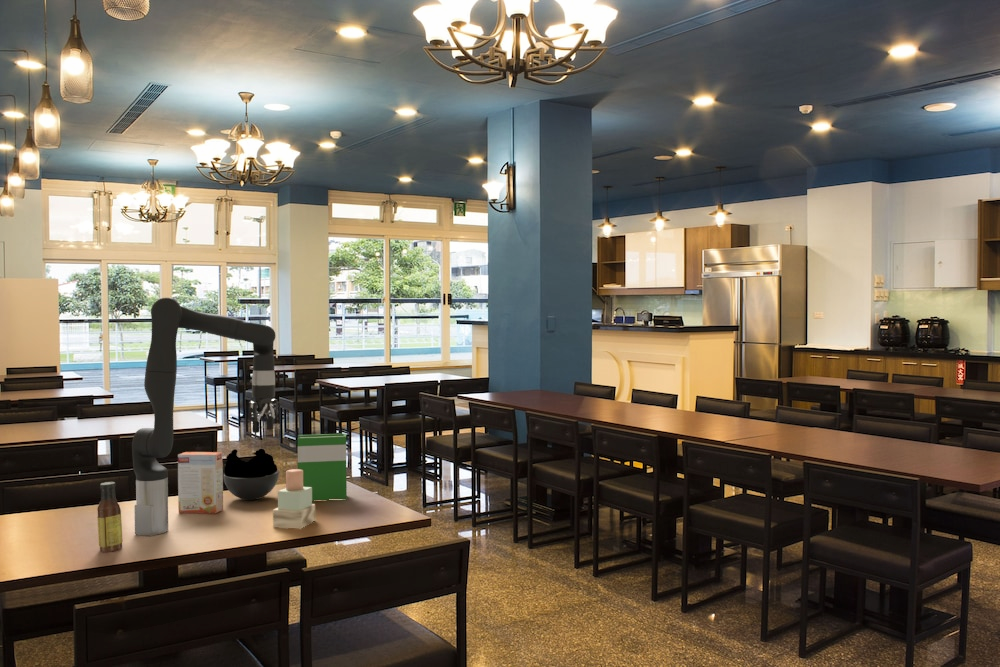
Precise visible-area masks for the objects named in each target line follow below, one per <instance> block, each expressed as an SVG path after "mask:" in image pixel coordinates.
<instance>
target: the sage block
mask: <svg viewBox="0 0 1000 667" xmlns="http://www.w3.org/2000/svg"><path fill="white" fill-rule="evenodd" d="M312 504H313V502H312V487H303V489H302V490H298V491H288V490H286V487H285V488H283V489H279V490H278V491H277V508H278V509H279V510H293V511H301V510H303V509H305V508H307V507H309V506H311V505H312Z"/></svg>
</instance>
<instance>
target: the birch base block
mask: <svg viewBox="0 0 1000 667" xmlns="http://www.w3.org/2000/svg"><path fill="white" fill-rule="evenodd" d="M313 521H315V522H316V503H312V505H311V506H309V507H307V508H305V509H303V510H301V511H293V510H279V509H278V507H275V508H274V509H272V527H279V528H278V529H288V528H299V529H298V530H302V529H301V528H303V527H304V528H306V527H307V526H306V525H308V524H310V523H311V524H313V523H314V522H313ZM312 522H313V523H312ZM311 524H310V525H311ZM305 526H306V527H305ZM308 526H309V525H308ZM304 528H303V529H304Z"/></svg>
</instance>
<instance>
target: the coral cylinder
mask: <svg viewBox="0 0 1000 667" xmlns="http://www.w3.org/2000/svg"><path fill="white" fill-rule="evenodd" d="M285 488H286V490H288V491H298V490H302V489H303V470H301V469H298V468H296V469H295V468H294V469H293V468H292V469H288V470H286V471H285Z"/></svg>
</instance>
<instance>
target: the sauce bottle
mask: <svg viewBox="0 0 1000 667" xmlns="http://www.w3.org/2000/svg"><path fill="white" fill-rule="evenodd" d="M99 489H100V501H99V503H98V505H97V508H96V510H97V530H98V547H99V551H100V552H101V551H103V552H102V553H110V552H111V551H112V552H117V551H119V550H120V549H122V548H123V525H122V523H123V522H122V510H121V507H120V504H119V503H118V500H117V498H116V482H115V481H105V482H101V483H100V485H99ZM116 550H117V551H116Z"/></svg>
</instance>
